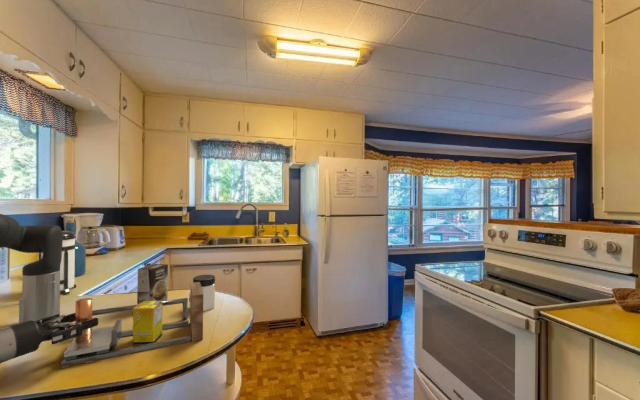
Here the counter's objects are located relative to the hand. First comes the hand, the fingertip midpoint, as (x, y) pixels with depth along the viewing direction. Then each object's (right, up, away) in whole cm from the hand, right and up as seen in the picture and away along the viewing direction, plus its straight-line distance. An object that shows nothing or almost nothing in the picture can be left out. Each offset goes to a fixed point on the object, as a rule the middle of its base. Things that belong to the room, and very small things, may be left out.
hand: (90, 317), depth 81 cm
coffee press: (-51, -8, +45) cm, 69 cm away
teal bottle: (-70, -8, +72) cm, 101 cm away
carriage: (+2, -8, 0) cm, 8 cm away
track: (+10, -9, +4) cm, 14 cm away
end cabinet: (+25, -9, +12) cm, 29 cm away
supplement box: (+13, -9, +6) cm, 17 cm away
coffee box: (-1, -9, +31) cm, 33 cm away
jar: (+19, -9, +32) cm, 38 cm away
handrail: (+5, -9, +14) cm, 17 cm away
